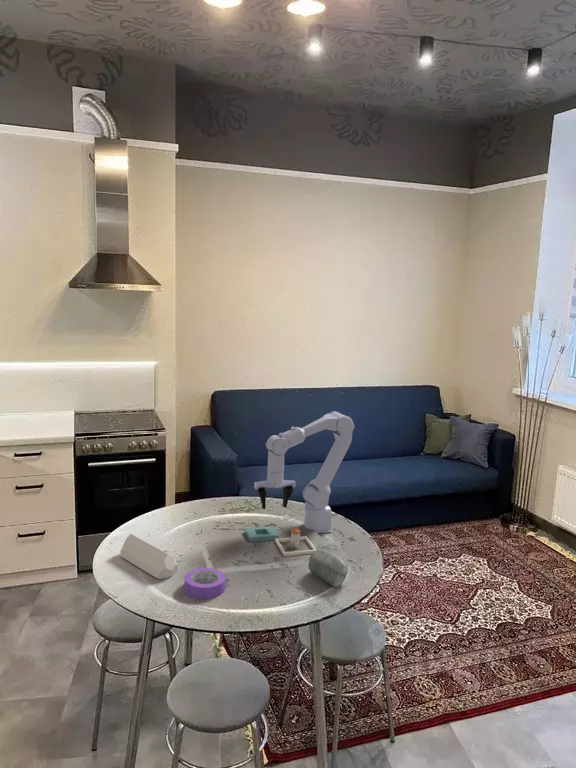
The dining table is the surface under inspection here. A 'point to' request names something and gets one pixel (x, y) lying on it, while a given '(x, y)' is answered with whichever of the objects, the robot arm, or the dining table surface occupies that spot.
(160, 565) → the crystal
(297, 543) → the copper-capped cylinder
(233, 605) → the dining table surface
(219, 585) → the masking tape
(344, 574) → the grey green streaked cylinder
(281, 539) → the tray
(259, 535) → the teal socket block
